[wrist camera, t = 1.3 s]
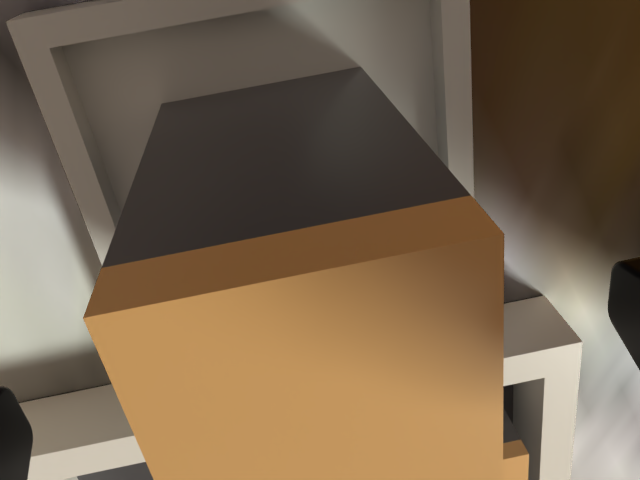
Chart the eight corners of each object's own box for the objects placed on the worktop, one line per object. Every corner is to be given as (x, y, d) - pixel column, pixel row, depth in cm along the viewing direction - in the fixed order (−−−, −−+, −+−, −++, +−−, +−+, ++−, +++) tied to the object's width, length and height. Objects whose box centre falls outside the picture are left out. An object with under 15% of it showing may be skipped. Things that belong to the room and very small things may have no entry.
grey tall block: (361, 66, 13) (503, 234, 6) (380, 238, 15) (502, 503, 9) (161, 103, 13) (82, 318, 6) (210, 272, 15) (193, 571, 8)
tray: (448, -64, 13) (468, -62, 12) (461, 284, 17) (476, 308, 16) (25, 12, 12) (5, 21, 11) (151, 347, 17) (145, 376, 16)
